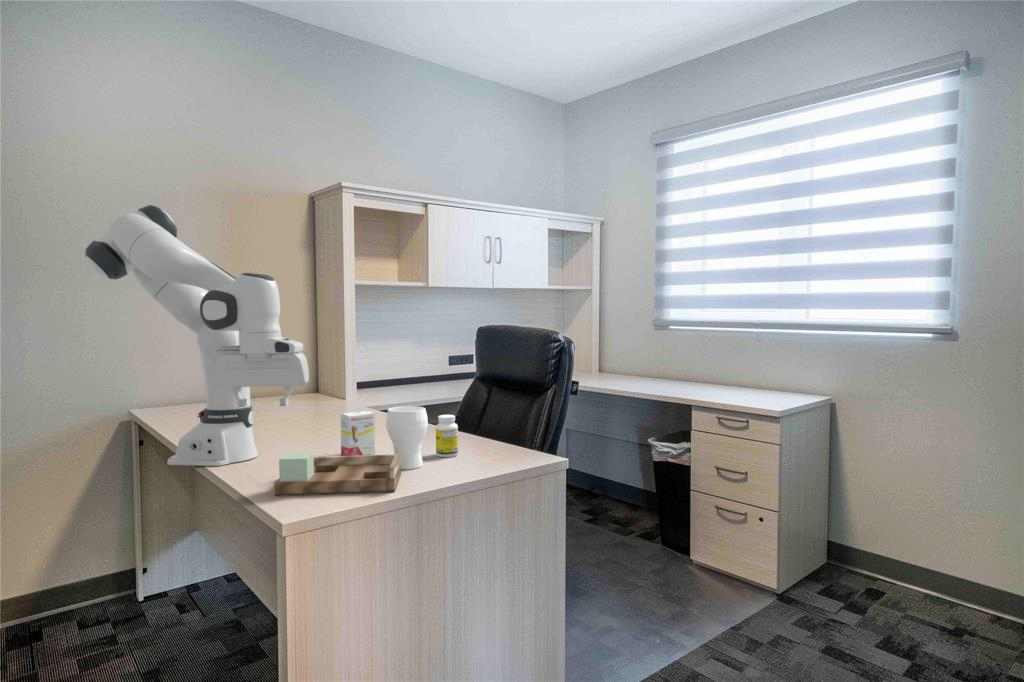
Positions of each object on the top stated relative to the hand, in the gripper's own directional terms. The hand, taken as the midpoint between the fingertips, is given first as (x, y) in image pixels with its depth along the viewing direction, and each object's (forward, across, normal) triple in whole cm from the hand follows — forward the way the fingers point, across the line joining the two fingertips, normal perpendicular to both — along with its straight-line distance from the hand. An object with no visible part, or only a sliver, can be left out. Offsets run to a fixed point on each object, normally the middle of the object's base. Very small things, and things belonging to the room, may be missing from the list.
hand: (263, 406), depth 139 cm
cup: (+20, +29, +20) cm, 40 cm away
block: (+16, +7, -1) cm, 18 cm away
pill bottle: (+20, +38, +31) cm, 53 cm away
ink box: (+20, +13, +34) cm, 41 cm away
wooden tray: (+19, +16, +3) cm, 25 cm away
